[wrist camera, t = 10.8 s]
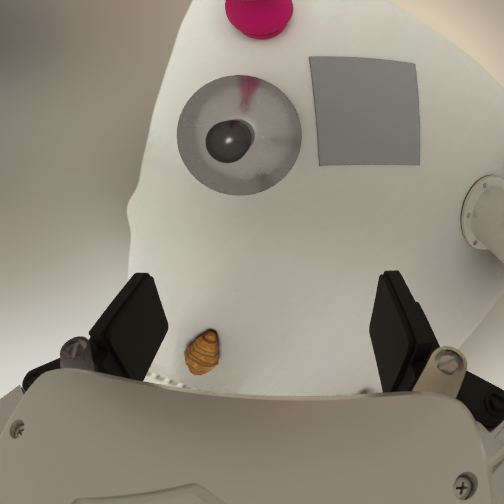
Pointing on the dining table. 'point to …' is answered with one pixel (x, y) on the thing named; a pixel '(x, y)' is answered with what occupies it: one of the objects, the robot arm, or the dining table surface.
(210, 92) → the lid
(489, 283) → the dining table surface
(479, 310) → the dining table surface
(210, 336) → the croissant
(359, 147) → the mat
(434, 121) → the dining table surface
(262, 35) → the pepper mill
